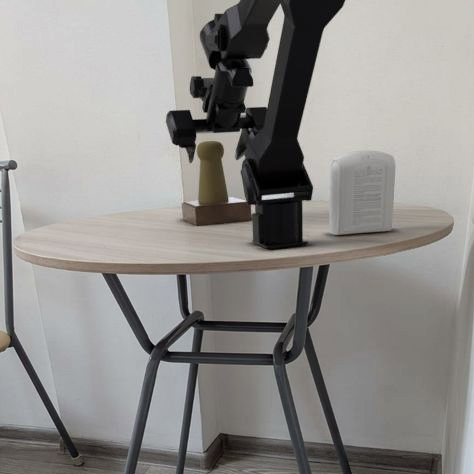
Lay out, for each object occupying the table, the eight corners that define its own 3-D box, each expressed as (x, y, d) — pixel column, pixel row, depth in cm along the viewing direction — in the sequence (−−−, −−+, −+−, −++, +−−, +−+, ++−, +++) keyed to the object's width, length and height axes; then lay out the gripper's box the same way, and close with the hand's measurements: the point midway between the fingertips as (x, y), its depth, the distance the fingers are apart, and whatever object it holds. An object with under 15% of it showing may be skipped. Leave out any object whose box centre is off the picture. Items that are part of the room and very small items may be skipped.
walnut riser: (234, 214, 120) (233, 196, 119) (251, 220, 111) (250, 201, 110) (182, 219, 117) (181, 201, 116) (196, 225, 108) (194, 206, 107)
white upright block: (384, 227, 96) (387, 148, 92) (396, 231, 92) (400, 149, 88) (325, 233, 94) (325, 152, 90) (335, 237, 90) (336, 152, 86)
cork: (192, 201, 115) (188, 142, 111) (218, 198, 118) (215, 140, 114) (207, 203, 110) (203, 141, 106) (234, 200, 113) (231, 140, 109)
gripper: (267, 57, 102) (247, 126, 116) (162, 58, 97) (155, 130, 110) (286, 102, 98) (263, 169, 112) (178, 106, 92) (168, 176, 106)
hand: (213, 159), depth 110 cm, fingers open, 9 cm apart
